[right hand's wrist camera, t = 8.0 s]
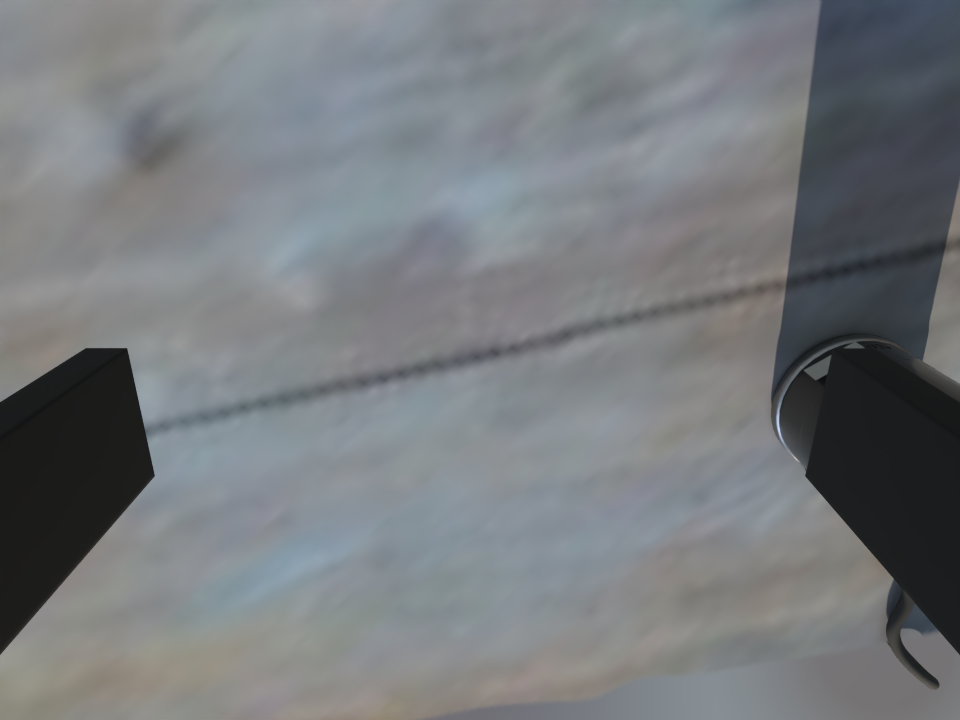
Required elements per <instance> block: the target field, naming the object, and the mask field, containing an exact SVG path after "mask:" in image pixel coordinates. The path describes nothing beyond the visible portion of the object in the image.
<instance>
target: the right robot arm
mask: <svg viewBox="0 0 960 720" xmlns="http://www.w3.org/2000/svg"><path fill="white" fill-rule="evenodd" d="M154 476H155V475H154V470H153V466H152V461H151V456H150V452H149V447H148V442H147V438H146V433H145V429H144V424H143V419H142V415H141V410H140V406H139V401H138V396H137V392H136V387H135V382H134V378H133V373H132V369H131V364H130V359H129V355H128V350H127V348H86V349H84V350H82V351H81V352H79V353H78V354H76V355H74V356H73V357H71V358H70V359H68V360H67V361H65V362H63V363H62V364H60V365H59V366H57V367H55V368H54V369H52V370H51V371H49V372H48V373H46V374H44V375H43V376H41V377H40V378H38V379H36V380H35V381H33V382H32V383H30V384H29V385H27V386H25V387H24V388H22V389H21V390H19V391H17V392H16V393H14V394H13V395H11V396H9V397H8V398H6V399H5V400H3V401H2V402H0V654H1V653H2V652H3V651H4V650H5V649H6V648H7V646H8V645H9V644H10V643H11V642H12V641H13V639H14V638H15V637H16V636H17V635H18V634H19V632H20V631H21V630H22V629H23V628H24V627H25V626H26V624H27V623H28V622H29V621H30V620H31V619H32V617H33V616H34V615H35V614H36V613H37V612H38V611H39V609H40V608H41V607H42V606H43V605H44V604H45V602H46V601H47V600H48V599H49V598H50V597H51V595H52V594H53V593H54V592H55V591H56V590H57V589H58V587H59V586H60V585H61V584H62V583H63V582H64V580H65V579H66V578H67V577H68V576H69V575H70V574H71V572H72V571H73V570H74V569H75V568H76V567H77V565H78V564H79V563H80V562H81V561H82V560H83V558H84V557H85V556H86V555H87V554H88V553H89V552H90V550H91V549H92V548H93V547H94V546H95V545H96V543H97V542H98V541H99V540H100V539H101V538H102V536H103V535H104V534H105V533H106V532H107V531H108V530H109V528H110V527H111V526H112V525H113V524H114V523H115V521H116V520H117V519H118V518H119V517H120V516H121V515H122V513H123V512H124V511H125V510H126V509H127V508H128V506H129V505H130V504H131V503H132V502H133V501H134V499H135V498H136V497H137V496H138V495H139V494H140V493H141V491H142V490H143V489H144V488H145V487H146V486H147V484H148V483H149V482H150V481H151V480H152V479H153V477H154ZM805 476H806V477H807V479H808V480H809V481H810V482H811V483H812V484H813V486H814V487H815V488H816V489H817V490H818V491H819V493H820V494H821V495H822V496H823V497H824V498H825V499H826V501H827V502H828V503H829V504H830V505H831V506H832V508H833V509H834V510H835V511H836V512H837V513H838V515H839V516H840V517H841V518H842V519H843V520H844V521H845V523H846V524H847V525H848V526H849V527H850V528H851V530H852V531H853V532H854V533H855V534H856V535H857V536H858V538H859V539H860V540H861V541H862V542H863V543H864V545H865V546H866V547H867V548H868V549H869V550H870V552H871V553H872V554H873V555H874V556H875V557H876V558H877V560H878V561H879V562H880V563H881V564H882V565H883V567H884V568H885V569H886V570H887V571H888V572H889V574H890V575H891V576H892V577H893V578H894V579H895V580H896V582H897V583H898V584H899V585H900V586H901V587H902V589H903V590H904V591H905V592H906V593H907V594H908V595H909V597H910V598H911V599H912V600H913V601H914V602H915V604H916V605H917V606H918V607H919V608H920V609H921V611H922V612H923V613H924V614H925V615H926V616H927V617H928V619H929V620H930V621H931V622H932V623H933V624H934V626H935V627H936V628H937V629H938V630H939V631H940V632H941V634H942V635H943V636H944V637H945V638H946V639H947V641H948V642H949V643H950V644H951V645H952V646H953V648H954V649H955V650H956V651H957V652H958V653H959V654H960V402H958V401H957V400H955V399H954V398H952V397H951V396H949V395H947V394H946V393H944V392H943V391H941V390H939V389H938V388H936V387H935V386H933V385H932V384H930V383H928V382H927V381H925V380H924V379H922V378H920V377H919V376H917V375H916V374H914V373H912V372H911V371H909V370H908V369H906V368H905V367H903V366H901V365H900V364H898V363H897V362H895V361H893V360H892V359H890V358H889V357H887V356H886V355H884V354H882V353H881V352H879V351H878V350H876V349H874V348H833V350H832V355H831V359H830V364H829V369H828V373H827V378H826V382H825V387H824V392H823V396H822V401H821V406H820V410H819V415H818V419H817V424H816V429H815V433H814V438H813V442H812V447H811V452H810V456H809V461H808V466H807V470H806V475H805Z"/></svg>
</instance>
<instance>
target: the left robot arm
mask: <svg viewBox="0 0 960 720" xmlns="http://www.w3.org/2000/svg"><path fill="white" fill-rule="evenodd" d="M833 348H874V349H876V350H878V351H879V352H881V353H882V354H884V355H886V356H887V357H889V358H890V359H892V360H893V361H895V362H897V363H898V364H900V365H901V366H903V367H905V368H906V369H908V370H909V371H911V372H912V373H914V374H916V375H917V376H919V377H920V378H922V379H924V380H925V381H927V382H928V383H930V384H932V385H933V386H935V387H936V388H938V389H939V390H941V391H943V392H944V393H946V394H947V395H949V396H951V397H952V398H954V399H955V400H957V401H958V402H960V384H959V383H958V382H956V381H954V380H953V379H951V378H949V377H948V376H946V375H944V374H943V373H941V372H939V371H938V370H936V369H935V368H933V367H931V366H930V365H928V364H926V363H924V362H923V361H921V360H919V359H918V358H916V357H914V356H913V355H912V354H911V353H910V352H909V351H907V350H906V349H904V348H902V347H901V346H899V345H897V344H896V343H894V342H892V341H890V340H888V339H885V338H882V337H879V336H874V335H867V334H855V335H847V336H842V337H838V338H834V339H831V340H829V341H826V342H824V343H822V344H820V345H818V346H816V347H814V348H813V349H811V350H809V351H808V352H806V353H805V354H804V355H803V356H801V357H800V358H799V359H798V360H797V361H796V362H795V363H794V364H793V365H792V366H791V367H790V368H789V369H788V371H787V372H786V373H785V375H784V376H783V378H782V379H781V381H780V383H779V385H778V387H777V389H776V391H775V395H774V398H773V402H772V409H771V418H772V425H773V429H774V431H775V434H776V436H777V438H778V440H779V441H780V443H781V444H782V445H783V446H784V448H785V449H786V450H787V451H788V452H789V453H790V454H791V456H793V457H794V458H795V459H796V460H797V461H799V462H800V463H801V464H802V465H803V467H804V468H805V470H807V466H808V461H809V456H810V452H811V447H812V442H813V438H814V433H815V429H816V424H817V419H818V415H819V410H820V406H821V401H822V396H823V392H824V387H825V382H826V378H827V373H828V369H829V364H830V359H831V355H832V350H833ZM914 603H915V602H914V601H913V600H912V599H911V598H910V597H909V595H908V594H907V593H906V592H905V591H904V590H903V589H902V595H901V597H900V600H899V602H898V604H897V605H896V607H895V609H894V610H893V612H892V614H891V616H890V618H889V620H888V623H887V627H886V635H887V638H888V642H887V644H888V645H889V646H890V647H891V649H892V651H893V652H894V654H895V656H896V657H897V658H898V659H899V661H900V662H901V663H902V664H903V665H904V666H905V667H906V668H907V669H908V670H909V671H910V672H911V673H912V674H913V675H914V676H915V677H916V678H917V679H919V680H920V681H921V682H922V683H924V684H925V685H926V686H927V687H929V688H930V689H933V690H936V689H938V688H939V682H938V680H937V679H936V678H935V677H933V676H932V675H931V674H930V673H928V672H927V671H926V670H925V669H924V668H923V667H922V666H921V665H920V664H919V663H918V661H917V660H916V659H915V658H914V657H913V656H912V655H911V654H910V653H909V652H908V651H907V650H906V649H905V647H904V645H903V643H902V641H901V638H900V631H901V627H902V625H903V623H904V621H905V619H906V618H907V616H908V614H909V613H910V611H911V609H912V607H913V605H914Z"/></svg>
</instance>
